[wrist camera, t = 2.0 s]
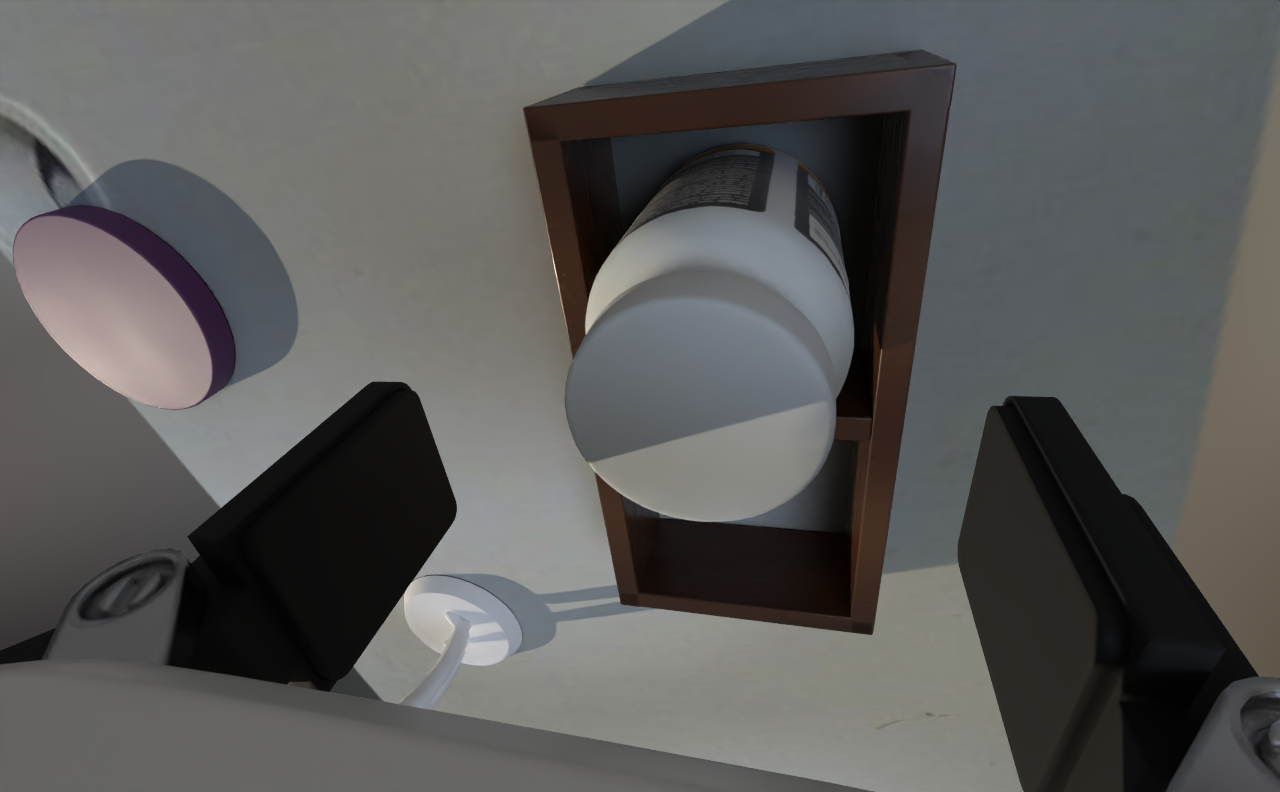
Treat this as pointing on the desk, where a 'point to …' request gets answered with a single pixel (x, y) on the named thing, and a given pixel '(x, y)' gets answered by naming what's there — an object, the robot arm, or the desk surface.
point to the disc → (124, 306)
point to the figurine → (456, 631)
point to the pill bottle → (717, 341)
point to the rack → (878, 374)
